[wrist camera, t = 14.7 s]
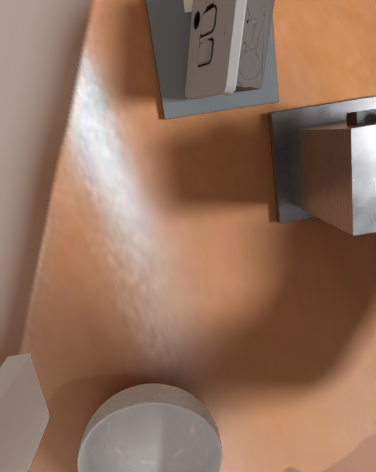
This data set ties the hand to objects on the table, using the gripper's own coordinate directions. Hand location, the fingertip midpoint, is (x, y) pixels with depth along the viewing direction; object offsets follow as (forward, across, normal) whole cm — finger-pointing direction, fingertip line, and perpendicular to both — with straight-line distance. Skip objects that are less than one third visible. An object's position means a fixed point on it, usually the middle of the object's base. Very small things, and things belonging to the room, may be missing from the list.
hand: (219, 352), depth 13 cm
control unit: (+28, +18, +2) cm, 34 cm away
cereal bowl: (+29, -8, -28) cm, 41 cm away
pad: (+28, +6, +15) cm, 33 cm away
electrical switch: (+28, +6, +15) cm, 32 cm away
